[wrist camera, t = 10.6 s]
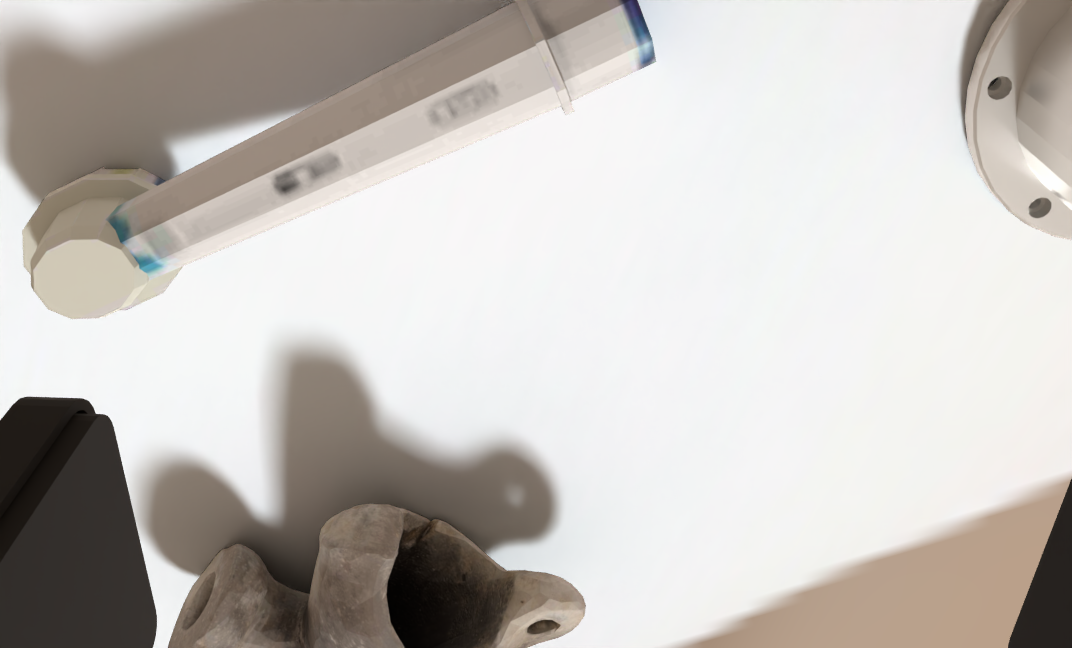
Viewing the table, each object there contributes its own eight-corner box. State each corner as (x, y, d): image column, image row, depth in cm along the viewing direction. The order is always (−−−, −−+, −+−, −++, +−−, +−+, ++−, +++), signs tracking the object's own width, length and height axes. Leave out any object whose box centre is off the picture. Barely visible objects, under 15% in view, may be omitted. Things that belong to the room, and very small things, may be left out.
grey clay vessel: (435, 515, 60) (581, 471, 48) (457, 671, 58) (616, 665, 46) (150, 552, 51) (245, 509, 39) (164, 740, 48) (270, 754, 37)
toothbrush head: (673, 91, 35) (45, 384, 37) (633, 49, 40) (94, 304, 43) (617, -56, 32) (-51, 268, 34) (584, -78, 38) (14, 200, 40)
